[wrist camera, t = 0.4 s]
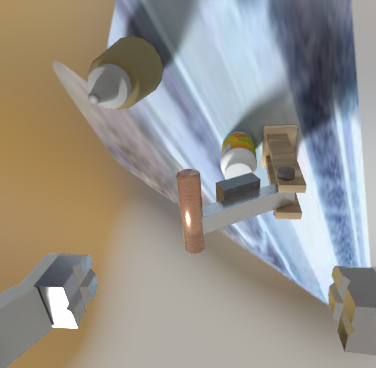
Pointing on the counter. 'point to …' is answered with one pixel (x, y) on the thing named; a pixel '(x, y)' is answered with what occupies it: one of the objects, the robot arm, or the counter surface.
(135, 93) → the squeeze bottle
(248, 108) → the counter surface
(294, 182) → the press stand
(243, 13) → the counter surface
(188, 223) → the lever
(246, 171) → the supplement bottle
